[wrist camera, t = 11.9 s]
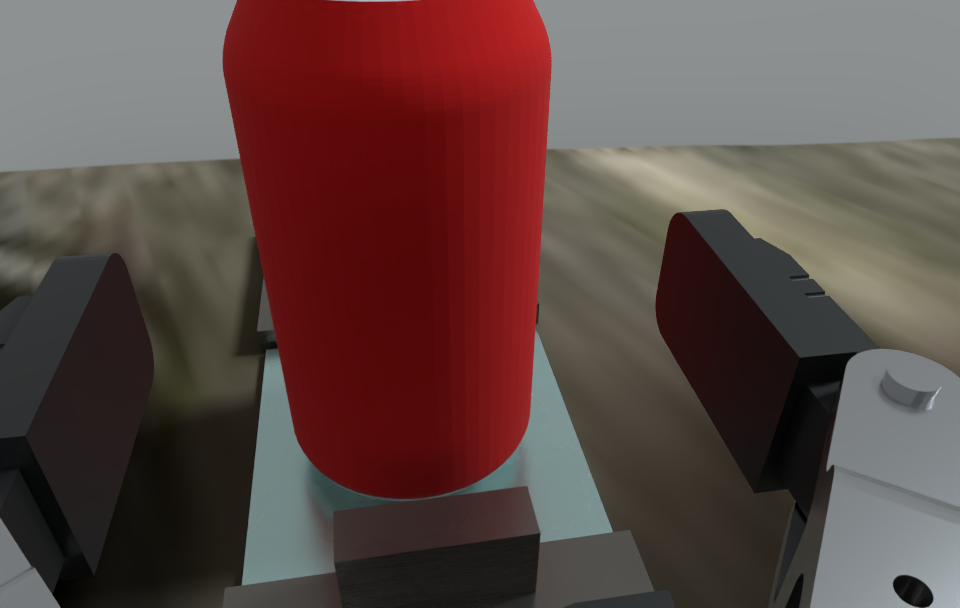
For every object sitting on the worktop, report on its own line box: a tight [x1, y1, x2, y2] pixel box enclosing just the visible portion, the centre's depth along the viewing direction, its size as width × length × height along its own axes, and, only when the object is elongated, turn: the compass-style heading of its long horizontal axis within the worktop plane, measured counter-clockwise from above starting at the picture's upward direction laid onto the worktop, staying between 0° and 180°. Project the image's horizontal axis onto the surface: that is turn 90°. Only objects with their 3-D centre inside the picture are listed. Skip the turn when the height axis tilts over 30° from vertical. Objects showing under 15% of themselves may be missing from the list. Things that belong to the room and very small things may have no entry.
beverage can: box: [223, 0, 551, 501], centre depth 17 cm, size 6×6×12 cm
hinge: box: [223, 278, 654, 608], centre depth 20 cm, size 9×24×3 cm, turn 10°
